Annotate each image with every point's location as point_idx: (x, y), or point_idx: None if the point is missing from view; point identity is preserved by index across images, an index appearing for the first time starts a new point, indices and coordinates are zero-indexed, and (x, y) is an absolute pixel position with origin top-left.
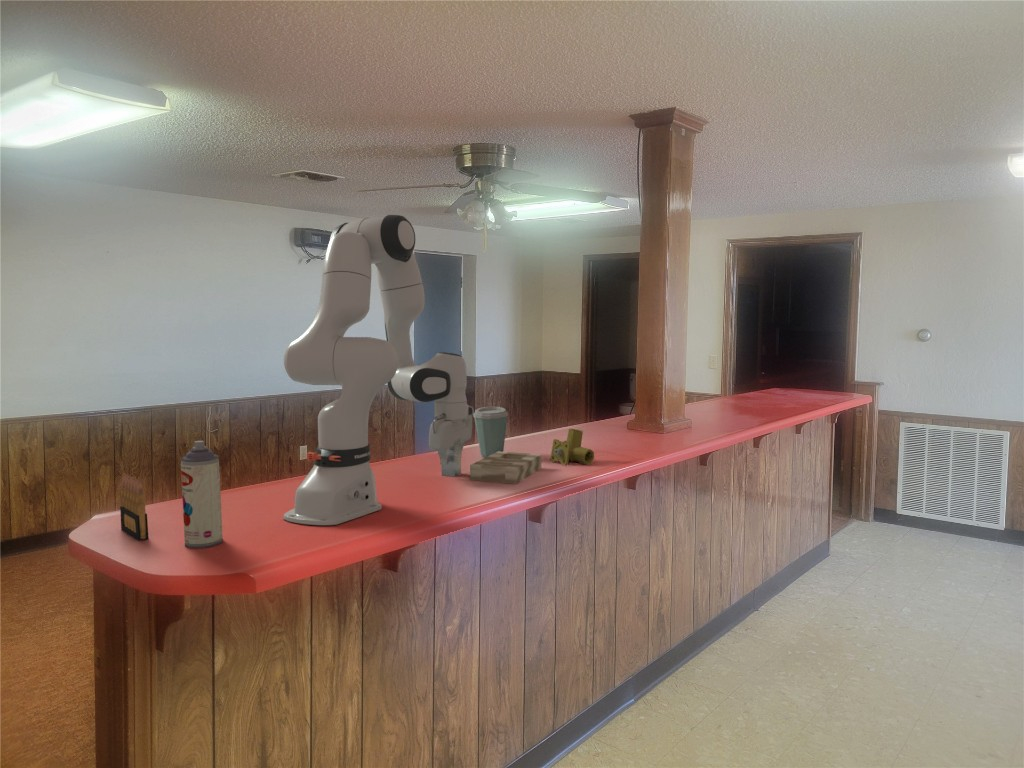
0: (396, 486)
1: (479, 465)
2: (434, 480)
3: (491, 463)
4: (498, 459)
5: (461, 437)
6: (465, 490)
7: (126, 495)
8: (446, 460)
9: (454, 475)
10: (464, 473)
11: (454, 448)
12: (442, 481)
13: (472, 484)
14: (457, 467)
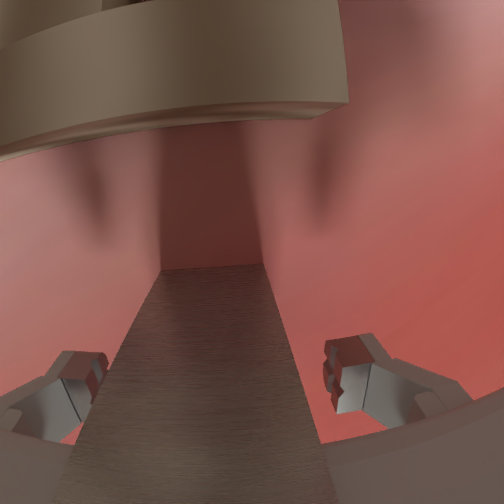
0: (489, 377)
1: (323, 13)
2: (389, 321)
3: (108, 8)
4: (16, 11)
5: (14, 493)
6: (500, 75)
7: None
8: (383, 349)
9: (263, 270)
10: (143, 253)
11: (307, 408)
12: (401, 269)
13: (405, 66)
14: (217, 289)
